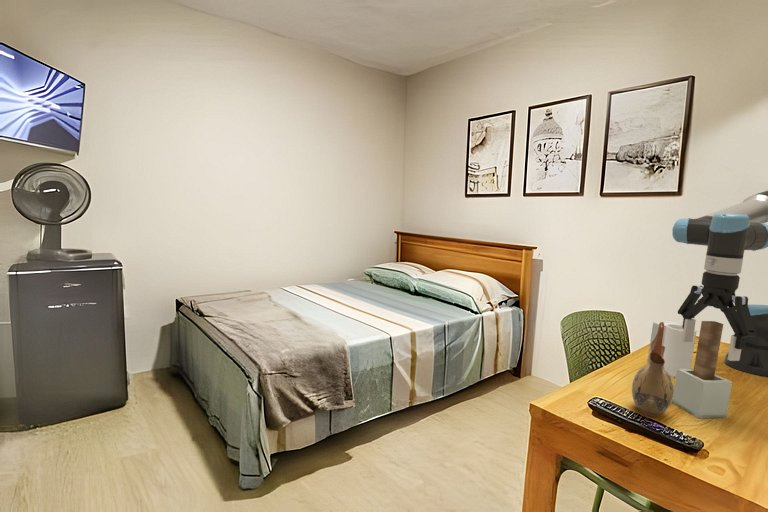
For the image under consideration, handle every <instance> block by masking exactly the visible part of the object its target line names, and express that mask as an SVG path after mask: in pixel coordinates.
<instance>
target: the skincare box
mask: <svg viewBox="0 0 768 512" xmlns="http://www.w3.org/2000/svg"><path fill="white" fill-rule="evenodd" d="M660 322H661V321H656V322H654V321H653V322H652V328H651V333H650V341H649V348H648V354H647V361H648V362H649V355H650V353H651V343H652V341H653V340H654V338H655V337H656V335H657V332H658V328H659V323H660ZM662 322H663V323H664V332H663V340H662V346H663V344H664V338H665V331H666V325H667V324H679V323H676V322H674V321H670V320H669V321H662ZM679 325H681V324H679Z"/></svg>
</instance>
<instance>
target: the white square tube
mask: <svg viewBox="0 0 768 512" xmlns="http://www.w3.org/2000/svg"><path fill="white" fill-rule="evenodd" d="M693 370H694V368H691V369H677V374H676V377H675V380H674V381H675V382H674V385H673V397H672V401H671V403H672V404H674V405H675V406H677V407H679V408H680V409H682V410H684V411H685V412H687V413H689V414H690V415H692V416H693V417H695V418H697V419H725V418H727V415H728V414H727V413H728V408H729V402H730V397H731V392H732V387H733V382H732V381H730V380H729V379H726V378H724V377H722V376H720V375H718V374H716V373H715V376H714V380H703V379H701V378H699V377H696V376H694V375H693Z"/></svg>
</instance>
